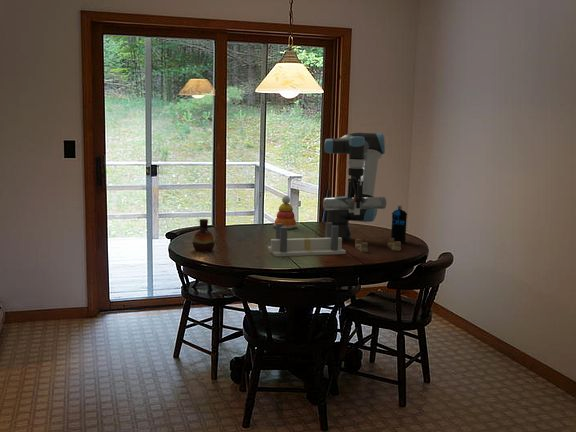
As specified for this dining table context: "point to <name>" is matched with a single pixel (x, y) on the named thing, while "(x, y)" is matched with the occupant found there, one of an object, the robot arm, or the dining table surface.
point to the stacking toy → (286, 214)
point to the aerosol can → (399, 225)
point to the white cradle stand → (306, 243)
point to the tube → (349, 203)
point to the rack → (390, 244)
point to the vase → (203, 238)
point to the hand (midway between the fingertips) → (354, 213)
